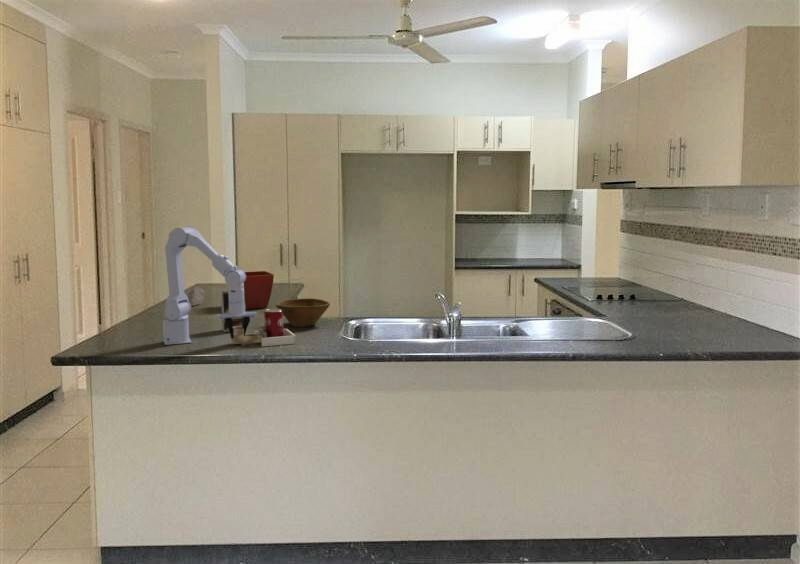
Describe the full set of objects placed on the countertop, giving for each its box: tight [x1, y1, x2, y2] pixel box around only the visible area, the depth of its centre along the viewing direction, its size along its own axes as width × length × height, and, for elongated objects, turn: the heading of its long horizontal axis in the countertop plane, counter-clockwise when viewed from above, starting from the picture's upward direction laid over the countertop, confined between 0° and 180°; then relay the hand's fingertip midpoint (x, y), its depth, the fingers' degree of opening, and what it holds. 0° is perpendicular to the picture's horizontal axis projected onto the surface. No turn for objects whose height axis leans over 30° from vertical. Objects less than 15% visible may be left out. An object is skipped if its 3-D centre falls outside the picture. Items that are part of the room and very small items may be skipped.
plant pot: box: [244, 270, 275, 310], centre depth 339 cm, size 19×19×17 cm
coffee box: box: [221, 290, 247, 333], centre depth 282 cm, size 9×6×16 cm
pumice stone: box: [187, 285, 206, 307], centre depth 347 cm, size 15×8×10 cm, turn 167°
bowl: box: [274, 297, 331, 328], centre depth 292 cm, size 22×23×10 cm
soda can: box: [263, 308, 285, 338], centre depth 261 cm, size 7×7×12 cm
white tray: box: [254, 328, 297, 347], centre depth 261 cm, size 13×15×3 cm
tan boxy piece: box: [231, 326, 267, 345], centre depth 257 cm, size 12×9×6 cm
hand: (237, 337), depth 256 cm, fingers open, 4 cm apart
